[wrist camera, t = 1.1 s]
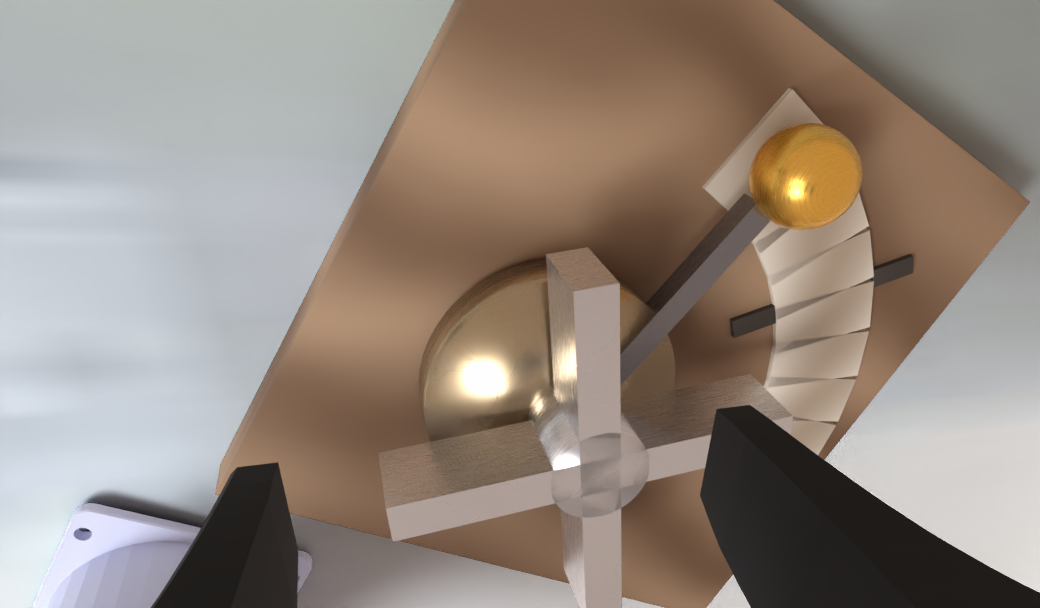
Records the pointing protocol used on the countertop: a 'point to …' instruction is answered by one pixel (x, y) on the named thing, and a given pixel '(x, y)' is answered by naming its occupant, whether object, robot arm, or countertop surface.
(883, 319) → the lever board
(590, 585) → the capstan
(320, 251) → the countertop surface
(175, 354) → the countertop surface
